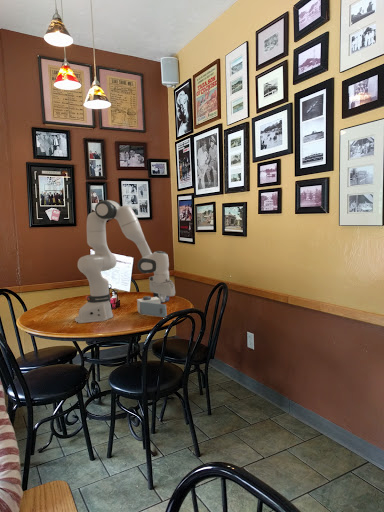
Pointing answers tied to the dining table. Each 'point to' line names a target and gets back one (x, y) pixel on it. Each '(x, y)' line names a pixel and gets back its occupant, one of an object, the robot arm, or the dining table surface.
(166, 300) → the small box
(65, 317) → the dining table surface
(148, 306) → the case door
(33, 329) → the dining table surface
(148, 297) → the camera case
